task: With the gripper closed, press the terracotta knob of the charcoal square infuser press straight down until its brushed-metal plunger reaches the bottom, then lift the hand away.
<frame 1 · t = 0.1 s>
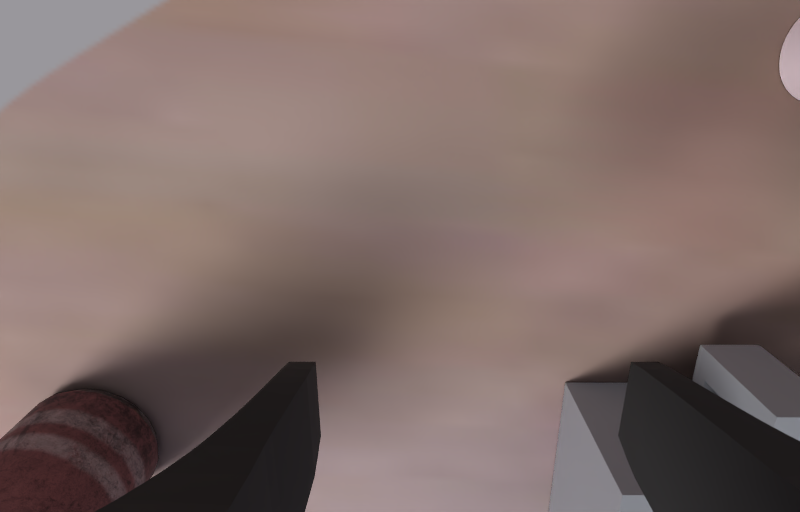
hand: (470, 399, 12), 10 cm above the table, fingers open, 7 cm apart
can: (101, 431, 25), on the table
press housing: (673, 485, 25), on the table
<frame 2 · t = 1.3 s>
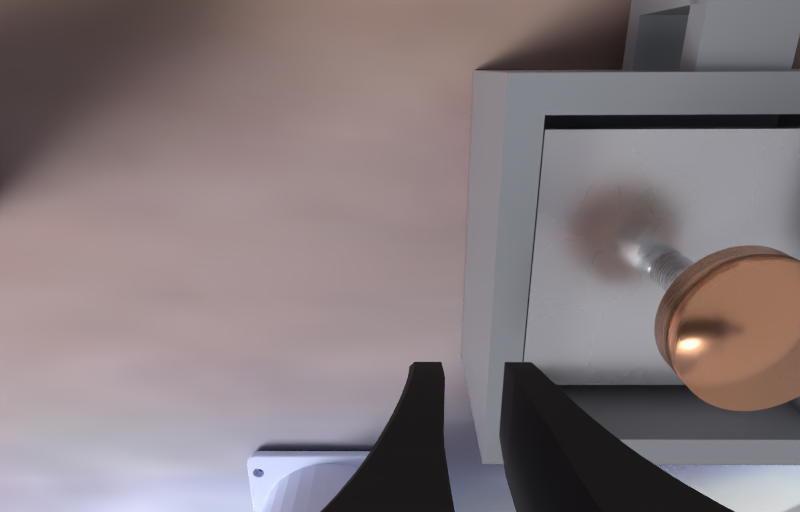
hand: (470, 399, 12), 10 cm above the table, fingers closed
plunger: (703, 295, 15), point 6 cm above the table, slide at 0.0 cm
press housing: (616, 228, 21), on the table
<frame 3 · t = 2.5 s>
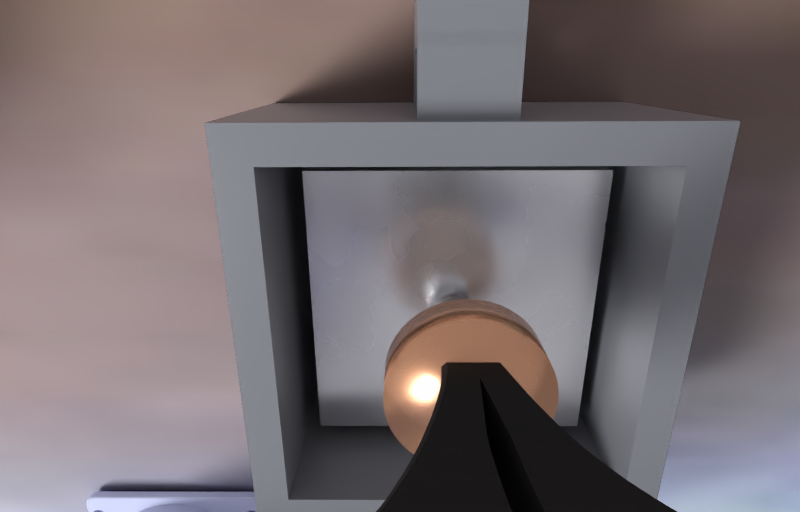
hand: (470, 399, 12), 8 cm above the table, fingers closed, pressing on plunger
plunger: (459, 343, 14), point 6 cm above the table, slide at 0.5 cm, touching gripper
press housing: (443, 265, 20), on the table
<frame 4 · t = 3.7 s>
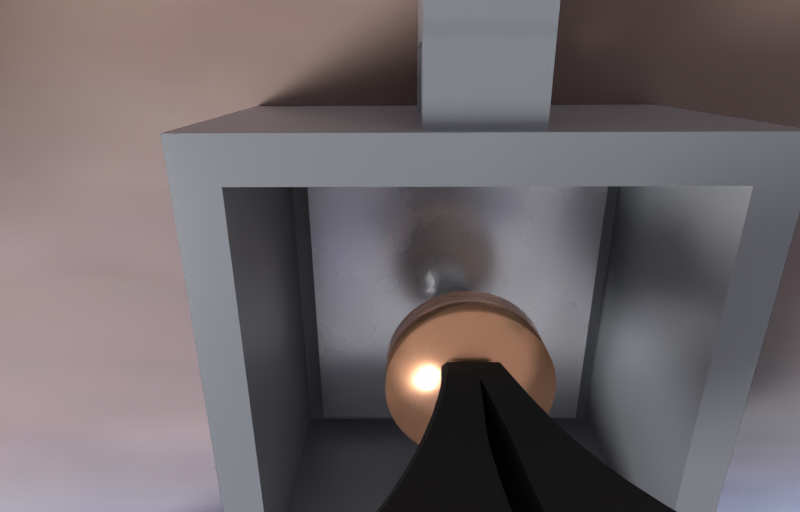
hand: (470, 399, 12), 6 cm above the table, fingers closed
plunger: (459, 334, 14), point 3 cm above the table, slide at 3.2 cm
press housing: (449, 287, 17), on the table
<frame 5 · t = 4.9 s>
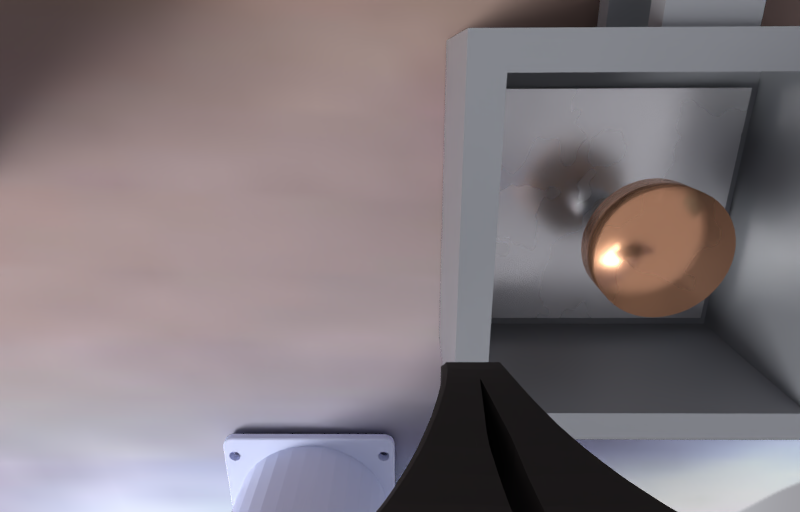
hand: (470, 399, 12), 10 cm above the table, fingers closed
plunger: (627, 228, 17), point 3 cm above the table, slide at 3.2 cm
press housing: (594, 203, 20), on the table
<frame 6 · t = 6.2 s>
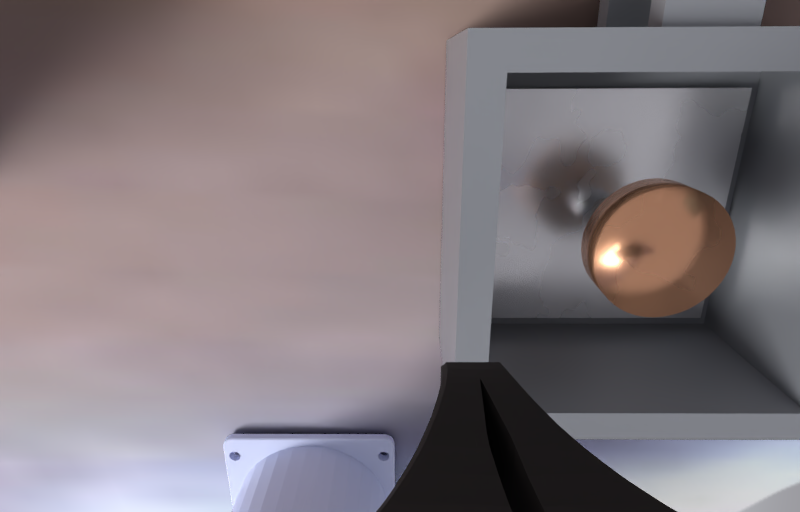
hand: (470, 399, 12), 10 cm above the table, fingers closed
plunger: (627, 228, 17), point 3 cm above the table, slide at 3.2 cm
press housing: (594, 203, 20), on the table
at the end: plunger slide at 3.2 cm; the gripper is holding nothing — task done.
